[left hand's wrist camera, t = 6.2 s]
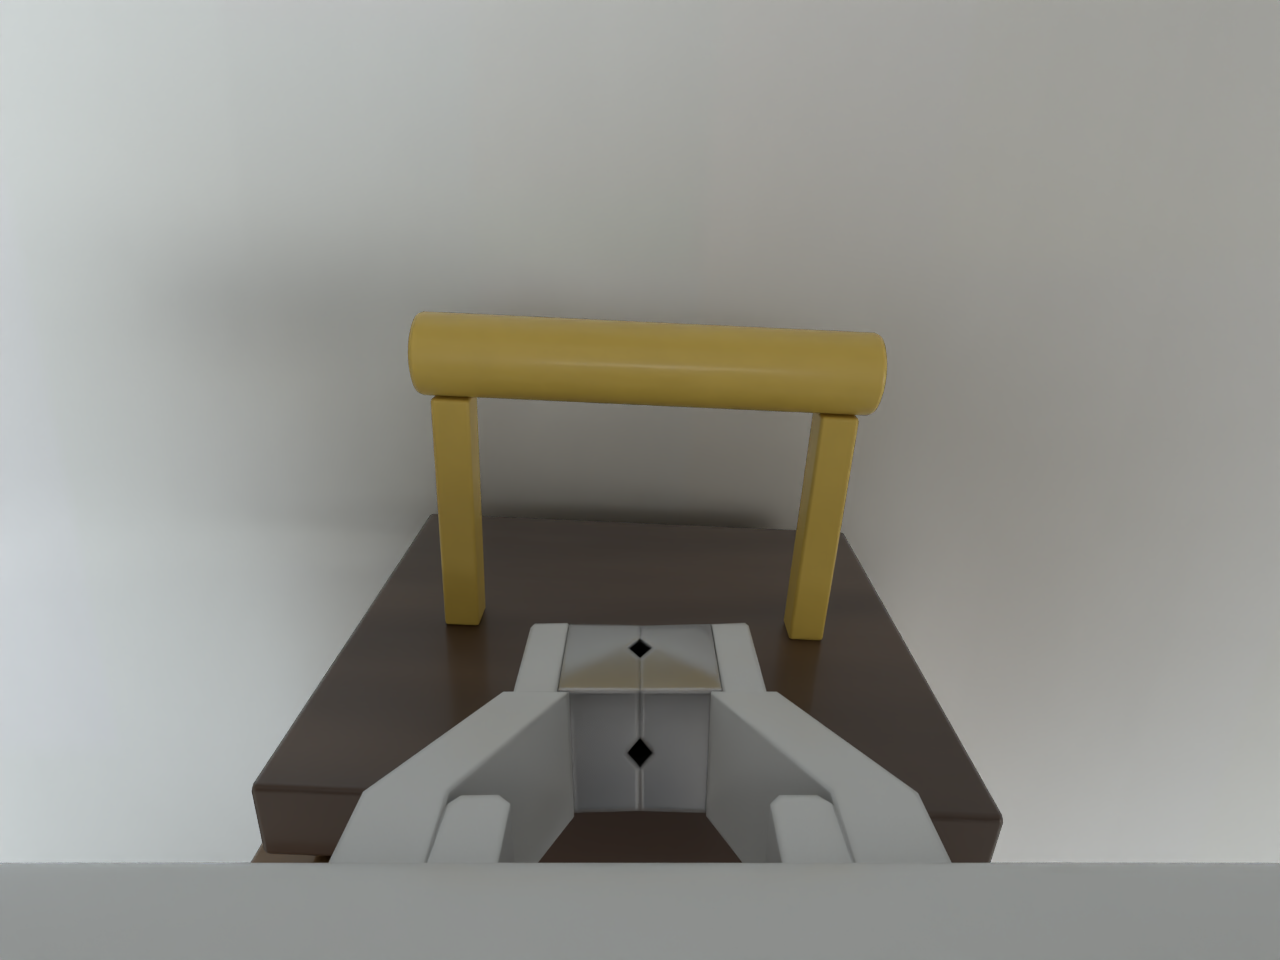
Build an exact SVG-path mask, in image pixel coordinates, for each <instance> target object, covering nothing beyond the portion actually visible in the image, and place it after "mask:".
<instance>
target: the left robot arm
mask: <svg viewBox="0 0 1280 960" xmlns="http://www.w3.org/2000/svg"><path fill="white" fill-rule="evenodd" d="M619 811H660V812H696V813H706V816H707V818H708V819H709V820H710V822H711V823H712V824H713V825H714V827H715V828H716V829H717V831H718V832H719V833H720V834H721V836H722V837H723V838H724V840H725V841H726V842H727V843H728V845H729V846H730V847H731V849H732V850H733V851H734V852H735V854H736V855H737V856H738V858H739V859H740V860H741V861H742V863H538V862H539V861H540V859H541V858H542V857H543V856H544V854H545V853H546V852H547V850H548V849H549V848H550V847H551V845H552V844H553V843H554V842H555V840H556V839H557V838H558V836H559V835H560V834H561V833H562V831H563V830H564V829H565V827H566V826H567V825H568V824H569V822H570V821H571V820H572V819H573V817H574V813H584V812H619ZM0 960H1280V863H952V862H951V860H950V858H949V856H948V854H947V852H946V850H945V848H944V846H943V844H942V842H941V840H940V838H939V835H938V833H937V831H936V829H935V827H934V825H933V823H932V821H931V819H930V817H929V815H928V813H927V811H926V809H925V806H924V804H923V802H922V800H921V798H920V796H919V794H918V793H917V792H916V791H915V790H913V789H912V788H910V787H909V786H908V785H906V784H905V783H903V782H902V781H901V780H899V779H898V778H896V777H895V776H894V775H892V774H891V773H889V772H888V771H887V770H885V769H884V768H883V767H881V766H880V765H878V764H877V763H876V762H874V761H873V760H871V759H870V758H869V757H867V756H866V755H864V754H863V753H862V752H860V751H859V750H857V749H856V748H855V747H853V746H852V745H850V744H849V743H848V742H846V741H845V740H844V739H842V738H841V737H839V736H838V735H837V734H835V733H834V732H832V731H831V730H830V729H828V728H827V727H825V726H824V725H823V724H821V723H820V722H818V721H817V720H816V719H814V718H813V717H811V716H810V715H809V714H807V713H806V712H804V711H803V710H802V709H800V708H799V707H798V706H796V705H795V704H793V703H792V702H791V701H789V700H788V699H786V698H785V697H784V696H782V695H781V694H779V693H778V692H766V688H765V684H764V681H763V677H762V673H761V670H760V666H759V662H758V659H757V655H756V651H755V648H754V644H753V640H752V637H751V633H750V629H749V626H748V625H747V624H746V623H727V624H691V625H651V626H640V625H616V624H570V625H569V624H568V623H541V624H534V625H533V626H532V627H531V628H530V632H529V636H528V639H527V643H526V647H525V651H524V654H523V658H522V662H521V665H520V669H519V673H518V677H517V680H516V684H515V688H514V691H513V692H502V693H501V694H499V695H498V696H496V697H495V698H494V699H492V700H491V701H489V702H488V703H487V704H485V705H484V706H482V707H481V708H480V709H478V710H477V711H475V712H474V713H473V714H471V715H470V716H468V717H467V718H466V719H464V720H463V721H461V722H460V723H459V724H457V725H456V726H454V727H453V728H452V729H450V730H449V731H447V732H446V733H445V734H443V735H442V736H440V737H439V738H438V739H436V740H435V741H433V742H432V743H431V744H429V745H428V746H426V747H425V748H424V749H422V750H421V751H419V752H418V753H417V754H415V755H414V756H412V757H411V758H410V759H408V760H407V761H405V762H404V763H403V764H401V765H400V766H398V767H397V768H396V769H394V770H393V771H391V772H390V773H389V774H387V775H386V776H384V777H383V778H382V779H380V780H379V781H377V782H376V783H375V784H373V785H372V786H370V787H369V788H368V789H366V790H365V791H363V793H362V795H361V797H360V799H359V801H358V803H357V805H356V807H355V809H354V811H353V813H352V815H351V817H350V819H349V821H348V823H347V826H346V828H345V830H344V832H343V834H342V836H341V838H340V840H339V842H338V844H337V846H336V848H335V850H334V852H333V854H332V856H331V858H330V860H329V862H328V863H0Z"/></svg>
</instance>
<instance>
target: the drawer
mask: <svg viewBox="0 0 1280 960" xmlns="http://www.w3.org/2000/svg"><path fill="white" fill-rule="evenodd" d="M408 364H409V371H410V376H411V380H412V383H413V386H414V388H415V389H416V391H417V392H419V393H421V394H423V395H435V396H434V397H433V398H432V399H431V414H432V429H433V444H434V459H435V474H436V489H437V504H438V514H432V515H430V517H429V518H428V520H427V521H426V523H425V524H424V526H423V527H422V529H421V530H420V532H419V533H418V535H417V536H416V538H415V539H414V541H413V542H412V544H411V545H410V547H409V549H408V550H407V552H406V553H405V555H404V556H403V558H402V559H401V561H400V562H399V564H398V565H397V567H396V568H395V570H394V571H393V573H392V574H391V576H390V577H389V579H388V580H387V582H386V583H385V585H384V586H383V588H382V589H381V591H380V593H379V594H378V596H377V597H376V599H375V600H374V602H373V603H372V605H371V606H370V608H369V609H368V611H367V612H366V614H365V615H364V617H363V618H362V620H361V621H360V623H359V624H358V626H357V627H356V629H355V630H354V632H353V633H352V635H351V637H350V638H349V640H348V641H347V643H346V644H345V646H344V647H343V649H342V650H341V652H340V653H339V655H338V656H337V658H336V659H335V661H334V662H333V664H332V665H331V667H330V668H329V670H328V671H327V673H326V674H325V676H324V677H323V679H322V680H321V682H320V684H319V685H318V687H317V688H316V690H315V691H314V693H313V694H312V696H311V697H310V699H309V700H308V702H307V703H306V705H305V706H304V708H303V709H302V711H301V712H300V714H299V715H298V717H297V718H296V720H295V721H294V723H293V724H292V726H291V728H290V729H289V731H288V732H287V734H286V735H285V737H284V738H283V740H282V741H281V743H280V744H279V746H278V747H277V749H276V750H275V752H274V753H273V755H272V756H271V758H270V759H269V761H268V762H267V764H266V765H265V767H264V768H263V770H262V772H261V773H260V775H259V776H258V778H257V779H256V781H255V782H254V784H253V787H252V795H253V800H254V804H255V809H256V814H257V819H258V824H259V828H260V833H261V838H262V843H263V848H264V850H265V852H267V853H269V854H288V855H313V856H332V854H333V852H334V850H335V848H336V846H337V844H338V842H339V840H340V838H341V836H342V834H343V832H344V830H345V828H346V826H347V823H348V821H349V819H350V817H351V815H352V813H353V811H354V809H355V807H356V805H357V803H358V801H359V799H360V797H361V795H362V793H363V791H365V790H366V789H368V788H369V787H370V786H372V785H373V784H375V783H376V782H377V781H379V780H380V779H382V778H383V777H384V776H386V775H387V774H389V773H390V772H391V771H393V770H394V769H396V768H397V767H398V766H400V765H401V764H403V763H404V762H405V761H407V760H408V759H410V758H411V757H412V756H414V755H415V754H417V753H418V752H419V751H421V750H422V749H424V748H425V747H426V746H428V745H429V744H431V743H432V742H433V741H435V740H436V739H438V738H439V737H440V736H442V735H443V734H445V733H446V732H447V731H449V730H450V729H452V728H453V727H454V726H456V725H457V724H459V723H460V722H461V721H463V720H464V719H466V718H467V717H468V716H470V715H471V714H473V713H474V712H475V711H477V710H478V709H480V708H481V707H482V706H484V705H485V704H487V703H488V702H489V701H491V700H492V699H494V698H495V697H496V696H498V695H499V694H501V693H502V692H513V691H514V688H515V684H516V680H517V677H518V673H519V669H520V665H521V662H522V658H523V654H524V651H525V647H526V643H527V639H528V636H529V632H530V628H531V627H532V626H533V625H534V624H541V623H568V624H569V625H570V624H616V625H640V626H651V625H691V624H727V623H746V624H747V625H748V626H749V629H750V633H751V637H752V640H753V644H754V648H755V651H756V655H757V659H758V662H759V666H760V670H761V673H762V677H763V681H764V684H765V688H766V692H778V693H779V694H781V695H782V696H784V697H785V698H786V699H788V700H789V701H791V702H792V703H793V704H795V705H796V706H798V707H799V708H800V709H802V710H803V711H804V712H806V713H807V714H809V715H810V716H811V717H813V718H814V719H816V720H817V721H818V722H820V723H821V724H823V725H824V726H825V727H827V728H828V729H830V730H831V731H832V732H834V733H835V734H837V735H838V736H839V737H841V738H842V739H844V740H845V741H846V742H848V743H849V744H850V745H852V746H853V747H855V748H856V749H857V750H859V751H860V752H862V753H863V754H864V755H866V756H867V757H869V758H870V759H871V760H873V761H874V762H876V763H877V764H878V765H880V766H881V767H883V768H884V769H885V770H887V771H888V772H889V773H891V774H892V775H894V776H895V777H896V778H898V779H899V780H901V781H902V782H903V783H905V784H906V785H908V786H909V787H910V788H912V789H913V790H915V791H916V792H917V793H918V794H919V796H920V798H921V800H922V802H923V804H924V806H925V809H926V811H927V813H928V815H929V817H930V819H931V821H932V823H933V825H934V827H935V829H936V831H937V833H938V835H939V838H940V840H941V842H942V844H943V846H944V848H945V850H946V852H947V854H948V856H949V858H950V860H951V862H952V863H990V862H991V859H992V856H993V853H994V849H995V846H996V843H997V840H998V837H999V833H1000V830H1001V827H1002V824H1003V818H1002V814H1001V813H1000V811H999V809H998V807H997V805H996V804H995V802H994V800H993V798H992V797H991V795H990V793H989V791H988V789H987V788H986V786H985V784H984V782H983V781H982V779H981V777H980V775H979V773H978V772H977V770H976V768H975V766H974V765H973V763H972V761H971V759H970V758H969V756H968V754H967V752H966V750H965V749H964V747H963V745H962V743H961V742H960V740H959V738H958V736H957V734H956V733H955V731H954V729H953V727H952V726H951V724H950V722H949V720H948V718H947V717H946V715H945V713H944V711H943V710H942V708H941V706H940V704H939V703H938V701H937V699H936V697H935V695H934V694H933V692H932V690H931V688H930V687H929V685H928V683H927V681H926V679H925V678H924V676H923V674H922V672H921V671H920V669H919V667H918V665H917V663H916V662H915V660H914V658H913V656H912V655H911V653H910V651H909V649H908V648H907V646H906V644H905V642H904V640H903V639H902V637H901V635H900V633H899V632H898V630H897V628H896V626H895V624H894V623H893V621H892V619H891V617H890V616H889V614H888V612H887V610H886V608H885V607H884V605H883V603H882V601H881V600H880V598H879V596H878V594H877V593H876V591H875V589H874V587H873V585H872V584H871V582H870V580H869V578H868V577H867V575H866V573H865V571H864V569H863V568H862V566H861V564H860V562H859V561H858V559H857V557H856V555H855V553H854V552H853V550H852V548H851V546H850V545H849V543H848V541H847V539H846V537H845V536H844V534H843V533H841V532H840V531H841V525H842V519H843V513H844V507H845V501H846V495H847V489H848V483H849V477H850V471H851V465H852V459H853V453H854V447H855V441H856V435H857V429H858V423H859V421H858V418H857V417H856V416H855V415H869V414H872V413H873V412H875V410H876V409H877V407H878V405H879V403H880V401H881V398H882V395H883V392H884V388H885V383H886V375H887V355H886V348H885V344H884V341H883V339H882V337H881V336H880V335H878V334H876V333H871V332H850V331H829V330H807V329H786V328H765V327H744V326H723V325H702V324H680V323H659V322H638V321H617V320H596V319H575V318H554V317H532V316H511V315H490V314H469V313H448V312H427V311H423V312H420V313H418V314H417V315H416V316H415V317H414V319H413V322H412V325H411V329H410V333H409V340H408ZM477 397H480V398H501V399H523V400H545V401H566V402H588V403H609V404H631V405H652V406H674V407H696V408H717V409H739V410H760V411H782V412H804V413H813V417H812V424H811V431H810V438H809V445H808V452H807V459H806V466H805V473H804V480H803V487H802V495H801V502H800V509H799V516H798V523H797V530H777V529H755V528H732V527H710V526H688V525H666V524H643V523H621V522H599V521H577V520H554V519H532V518H510V517H488V516H482V511H481V487H480V463H479V439H478V415H477ZM538 863H742V861H741V860H740V859H739V858H738V856H737V855H736V854H735V852H734V851H733V850H732V849H731V847H730V846H729V845H728V843H727V842H726V841H725V840H724V838H723V837H722V836H721V834H720V833H719V832H718V831H717V829H716V828H715V827H714V825H713V824H712V823H711V822H710V820H709V819H708V818H707V816H706V813H696V812H660V811H619V812H584V813H574V817H573V819H572V820H571V821H570V822H569V824H568V825H567V826H566V827H565V829H564V830H563V831H562V833H561V834H560V835H559V836H558V838H557V839H556V840H555V842H554V843H553V844H552V845H551V847H550V848H549V849H548V850H547V852H546V853H545V854H544V856H543V857H542V858H541V859H540V861H539V862H538Z"/></svg>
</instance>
